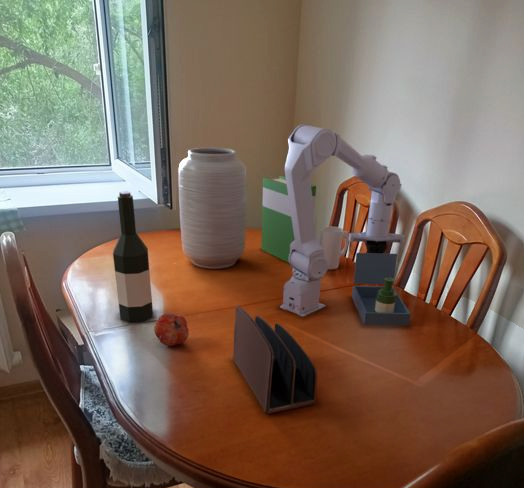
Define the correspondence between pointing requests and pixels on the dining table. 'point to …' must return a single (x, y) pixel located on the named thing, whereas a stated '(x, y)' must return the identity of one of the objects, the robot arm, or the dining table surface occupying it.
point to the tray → (366, 307)
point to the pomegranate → (171, 329)
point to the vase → (212, 207)
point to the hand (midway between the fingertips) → (372, 267)
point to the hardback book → (277, 218)
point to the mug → (333, 244)
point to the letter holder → (273, 364)
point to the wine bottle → (131, 267)
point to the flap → (374, 267)
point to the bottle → (386, 297)
